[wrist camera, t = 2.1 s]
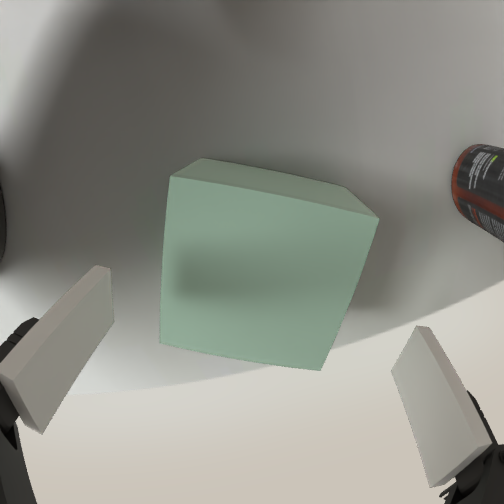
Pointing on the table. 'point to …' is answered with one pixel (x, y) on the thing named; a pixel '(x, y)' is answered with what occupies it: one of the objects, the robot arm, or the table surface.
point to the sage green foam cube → (259, 263)
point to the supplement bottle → (481, 187)
